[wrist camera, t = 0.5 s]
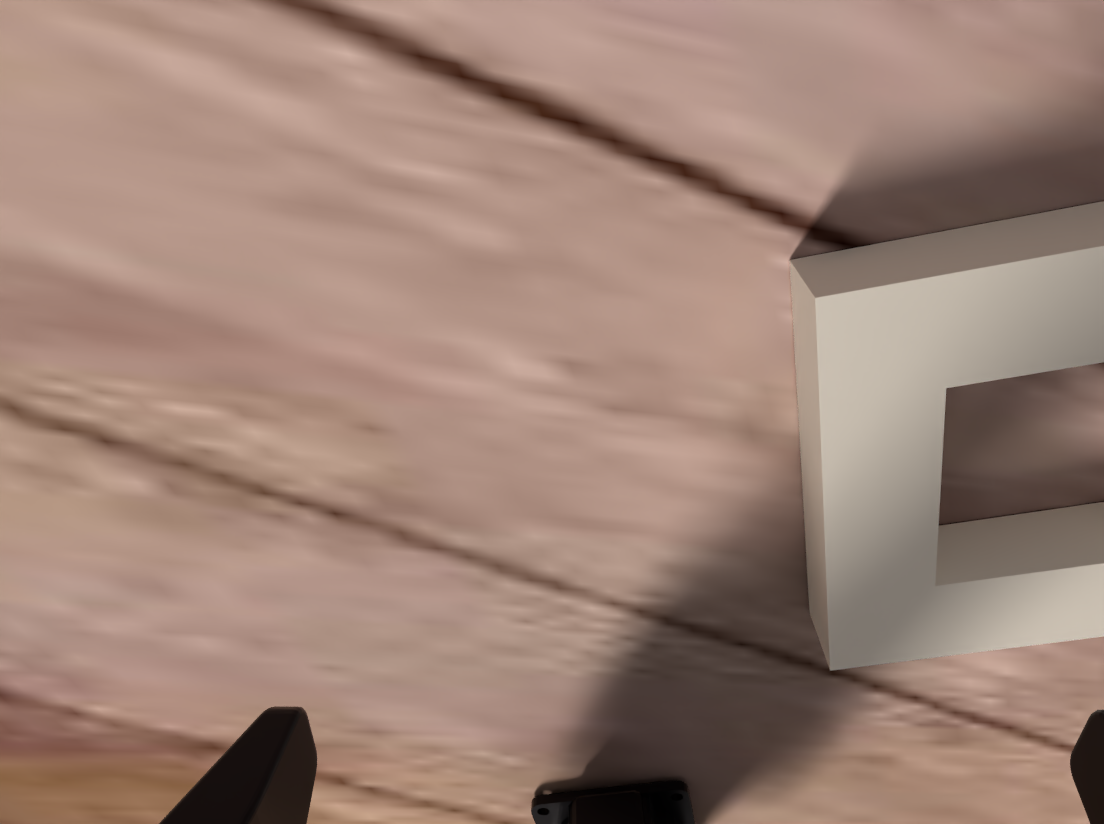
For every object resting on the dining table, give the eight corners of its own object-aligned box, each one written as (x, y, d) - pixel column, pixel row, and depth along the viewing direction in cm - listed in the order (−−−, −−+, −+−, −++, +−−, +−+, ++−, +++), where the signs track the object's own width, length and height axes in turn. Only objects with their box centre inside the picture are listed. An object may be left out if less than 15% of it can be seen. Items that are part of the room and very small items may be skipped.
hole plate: (1216, 558, 26) (1275, 615, 24) (809, 612, 27) (829, 670, 25) (1335, 157, 19) (1432, 186, 17) (789, 260, 21) (815, 298, 19)
